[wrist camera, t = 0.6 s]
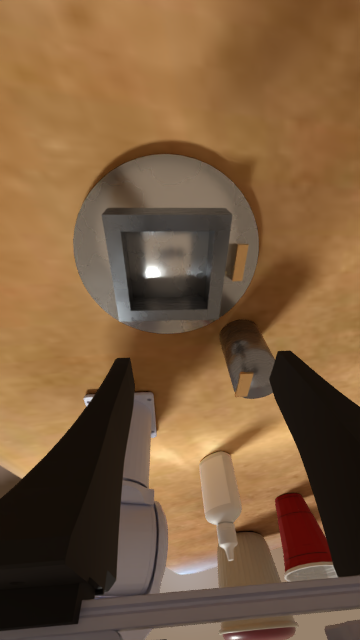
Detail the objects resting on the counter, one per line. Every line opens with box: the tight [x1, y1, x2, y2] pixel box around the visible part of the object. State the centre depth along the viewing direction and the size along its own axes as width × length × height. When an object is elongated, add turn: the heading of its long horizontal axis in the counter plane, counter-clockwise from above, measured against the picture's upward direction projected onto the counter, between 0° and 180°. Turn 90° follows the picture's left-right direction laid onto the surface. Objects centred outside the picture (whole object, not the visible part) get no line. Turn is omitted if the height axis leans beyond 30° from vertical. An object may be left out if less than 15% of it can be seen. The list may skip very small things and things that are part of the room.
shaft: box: [219, 320, 275, 399], centre depth 22 cm, size 4×4×6 cm
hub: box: [73, 154, 259, 334], centre depth 18 cm, size 14×14×3 cm
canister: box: [217, 532, 299, 640], centre depth 60 cm, size 18×18×21 cm
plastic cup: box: [275, 493, 338, 582], centre depth 47 cm, size 11×11×12 cm
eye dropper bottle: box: [199, 451, 242, 561], centre depth 35 cm, size 4×6×12 cm
